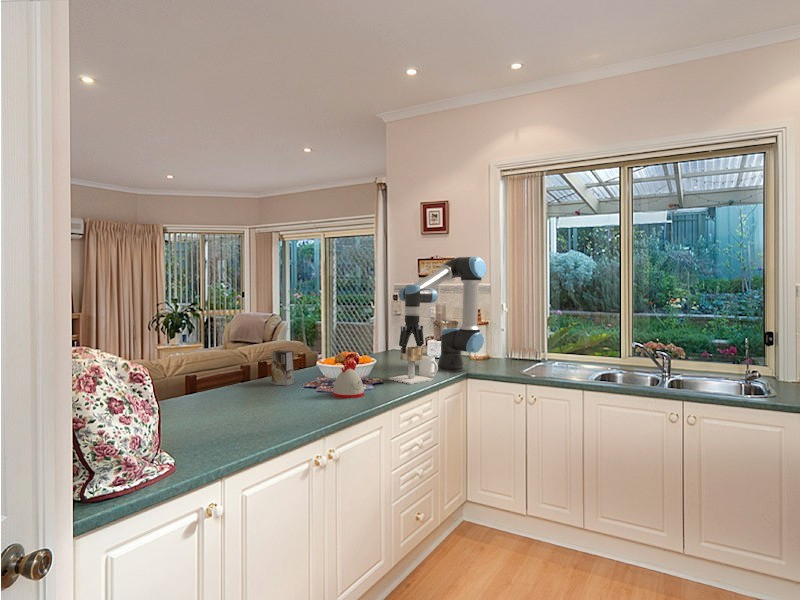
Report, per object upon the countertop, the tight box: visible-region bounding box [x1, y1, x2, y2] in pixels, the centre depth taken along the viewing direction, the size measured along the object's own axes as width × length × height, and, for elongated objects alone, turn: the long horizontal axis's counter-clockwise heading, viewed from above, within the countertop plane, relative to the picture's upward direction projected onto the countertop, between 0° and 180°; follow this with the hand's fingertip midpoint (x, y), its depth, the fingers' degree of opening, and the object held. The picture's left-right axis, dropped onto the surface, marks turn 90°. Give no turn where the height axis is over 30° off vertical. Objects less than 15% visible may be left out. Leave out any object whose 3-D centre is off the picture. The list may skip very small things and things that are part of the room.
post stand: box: [388, 361, 434, 385], centre depth 267 cm, size 16×16×10 cm
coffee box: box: [270, 349, 295, 387], centre depth 253 cm, size 9×6×16 cm
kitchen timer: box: [332, 361, 365, 399], centre depth 232 cm, size 14×14×15 cm
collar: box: [400, 346, 424, 362], centre depth 267 cm, size 8×8×6 cm
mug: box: [418, 355, 439, 378], centre depth 277 cm, size 12×8×10 cm
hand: (411, 359), depth 267 cm, fingers closed on collar, 8 cm apart
